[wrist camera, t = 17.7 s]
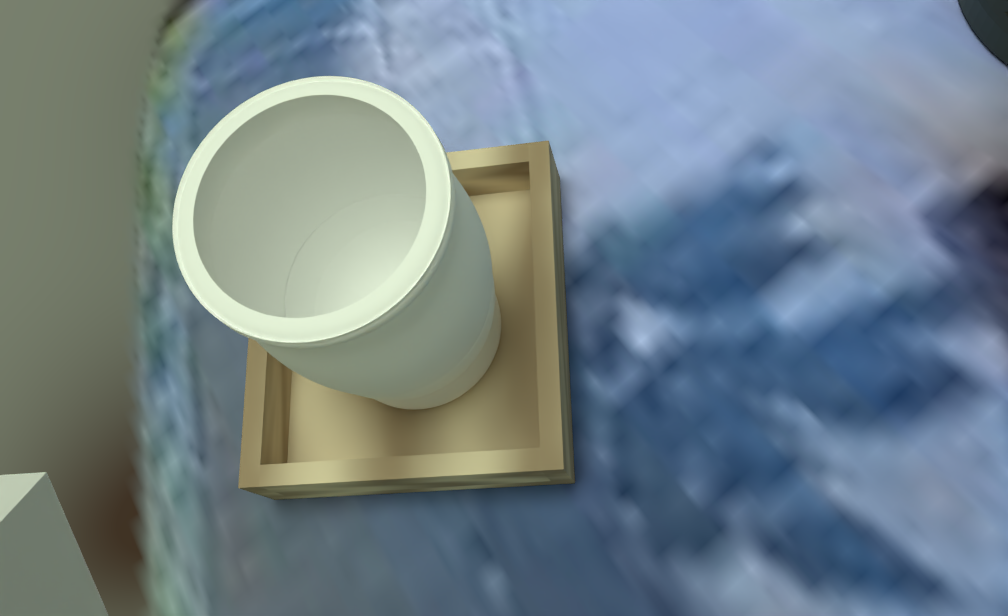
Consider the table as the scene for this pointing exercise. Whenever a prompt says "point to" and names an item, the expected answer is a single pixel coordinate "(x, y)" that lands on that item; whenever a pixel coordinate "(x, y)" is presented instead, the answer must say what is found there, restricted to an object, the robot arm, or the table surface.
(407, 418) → the holder
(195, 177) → the jar
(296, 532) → the table surface
